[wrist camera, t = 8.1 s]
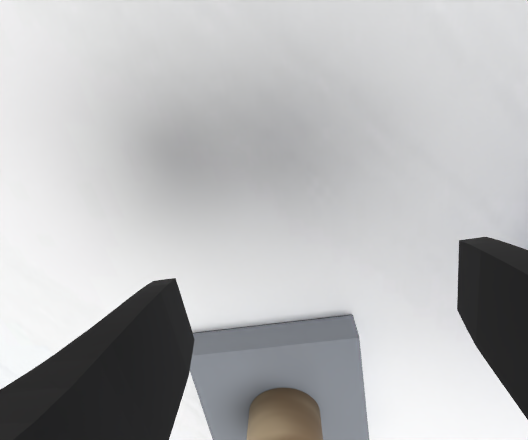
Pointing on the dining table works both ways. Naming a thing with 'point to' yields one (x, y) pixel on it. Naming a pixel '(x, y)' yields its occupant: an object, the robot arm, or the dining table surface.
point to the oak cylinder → (284, 416)
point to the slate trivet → (282, 373)
